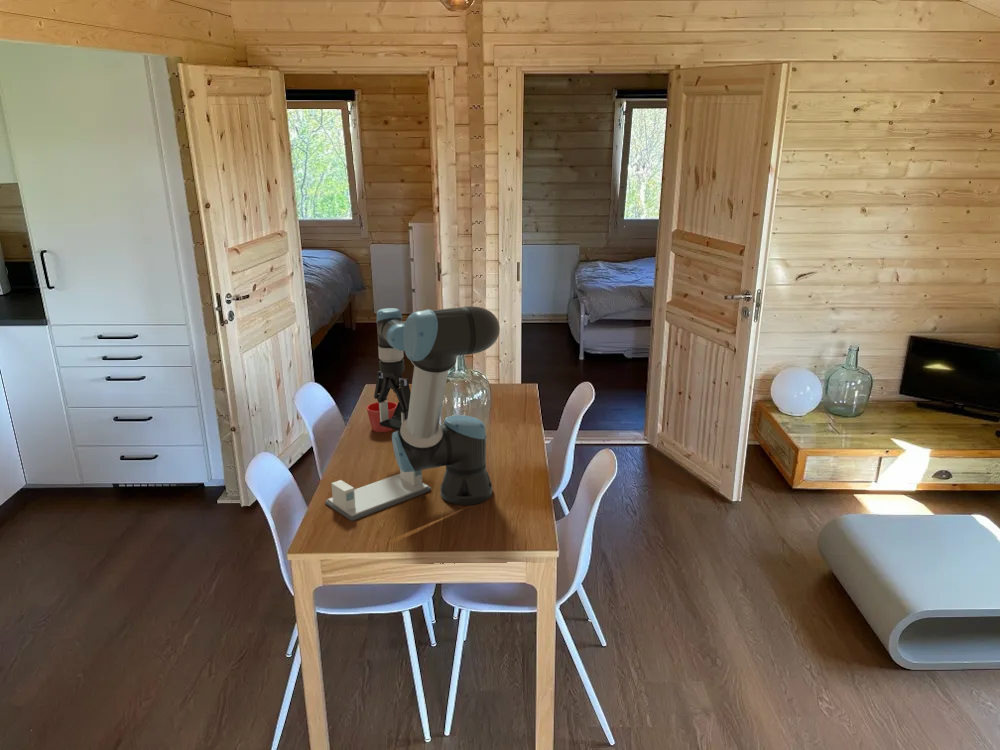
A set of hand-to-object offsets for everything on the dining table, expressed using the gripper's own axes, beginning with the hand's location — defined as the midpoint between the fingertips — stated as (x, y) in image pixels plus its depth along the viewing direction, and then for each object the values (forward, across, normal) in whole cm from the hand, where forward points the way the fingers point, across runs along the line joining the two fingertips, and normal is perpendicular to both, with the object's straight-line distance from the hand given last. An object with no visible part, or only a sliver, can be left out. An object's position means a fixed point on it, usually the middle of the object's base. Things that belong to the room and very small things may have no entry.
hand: (395, 426), depth 227 cm
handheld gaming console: (+2, 0, 0) cm, 2 cm away
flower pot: (+13, +28, -13) cm, 33 cm away
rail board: (+14, -15, +17) cm, 26 cm away
